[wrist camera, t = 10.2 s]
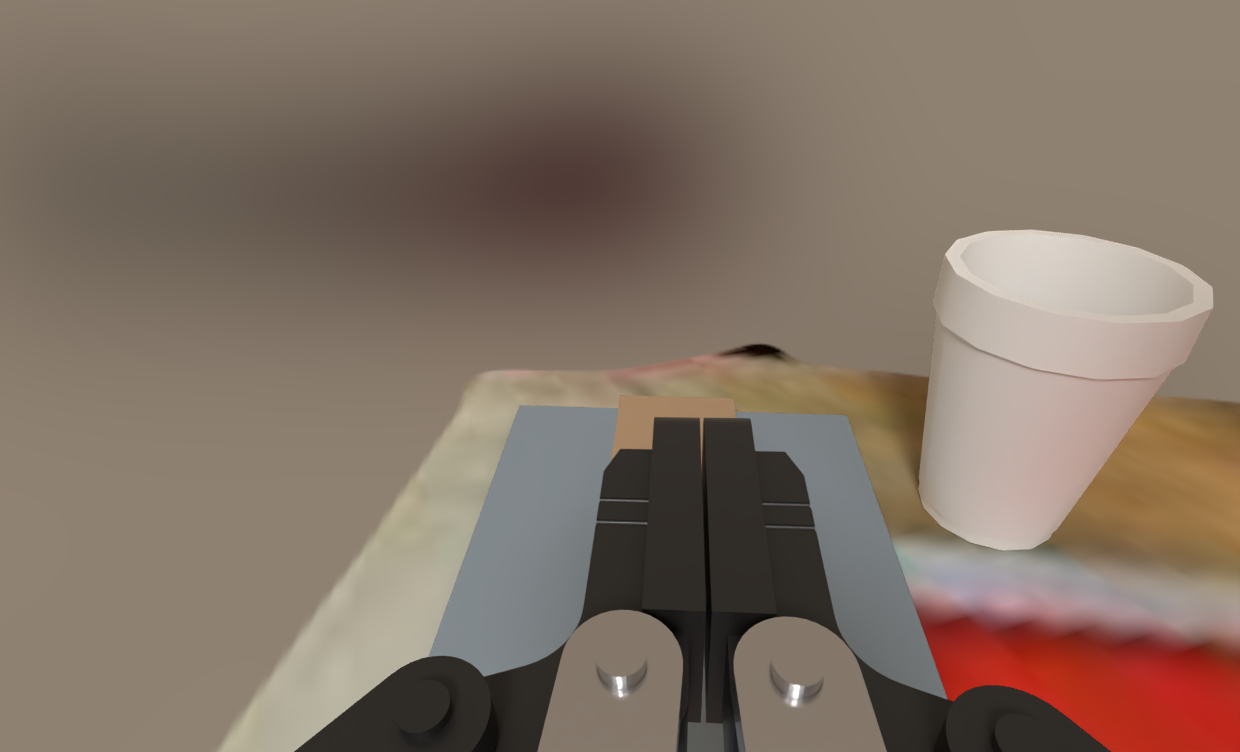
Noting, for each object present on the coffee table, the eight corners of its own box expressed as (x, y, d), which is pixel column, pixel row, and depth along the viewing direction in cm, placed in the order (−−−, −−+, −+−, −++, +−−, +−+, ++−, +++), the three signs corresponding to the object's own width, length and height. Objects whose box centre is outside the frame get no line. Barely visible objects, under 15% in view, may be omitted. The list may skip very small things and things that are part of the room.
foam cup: (1078, 472, 36) (1182, 245, 29) (1106, 602, 29) (1253, 342, 22) (893, 432, 39) (946, 220, 32) (878, 540, 32) (942, 297, 25)
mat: (845, 423, 40) (846, 415, 40) (1074, 1086, 17) (1083, 1079, 16) (520, 413, 42) (519, 405, 41) (310, 1006, 18) (305, 998, 18)
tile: (597, 595, 29) (620, 420, 40) (750, 603, 28) (731, 423, 39) (595, 567, 28) (620, 395, 39) (753, 575, 28) (733, 398, 38)
